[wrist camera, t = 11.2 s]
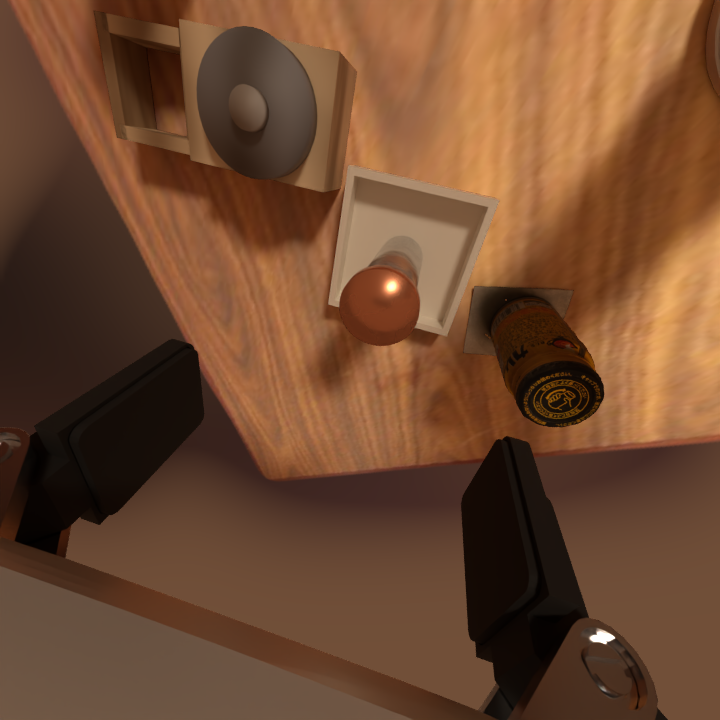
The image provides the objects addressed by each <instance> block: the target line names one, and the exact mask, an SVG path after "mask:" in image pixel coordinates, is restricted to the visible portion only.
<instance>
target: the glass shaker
mask: <svg viewBox="0 0 720 720" xmlns="http://www.w3.org/2000/svg"><path fill="white" fill-rule="evenodd" d="M422 259H423V255H422V250H421V248H420V246H419V244H418V243H417V242H416V241H415V240H414V239H412V238H410V237H408V236H395V237H393V238H391V239H389V240H388V241H387V242H386V243H385V244H384V245H383V246H382V248H381V249H380V251H379V252H378V253H377V255H376V256H375V257H374V259H373V260H372V262H371V263H370V264H369V266H368V267H366V268H364V269H362V270H360V271H359V272H357V273H356V274H355V275H354V276H353V277H352V278H351V279H350V280H349V282H348V283H347V284H346V285H345V287H344V289H343V291H342V293H341V296H340V302H339V310H340V315H341V318H342V321H343V323H344V325H345V326H346V328H347V329H348V330H349V332H350V333H351V334H352V335H354V336H355V337H356V338H358V339H359V340H361V341H363V342H365V343H368V344H371V345H376V346H386V345H392V344H395V343H398V342H400V341H402V340H403V339H405V338H406V337H407V336H408V335H409V334H410V333H411V332H412V331H413V329H414V328H415V326H416V324H417V321H418V318H419V312H420V296H419V292H418V289H417V286H418V281H419V276H420V270H421V265H422Z"/></svg>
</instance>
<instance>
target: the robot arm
mask: <svg viewBox="0 0 720 720" xmlns="http://www.w3.org/2000/svg"><path fill="white" fill-rule="evenodd" d="M705 51H706V61H707V71H708V74H709V77H710V80H711V82H712V85H713V88H714V90H715V91H716V92H717V94H718V95H719V96H720V0H715V2H714V6H713V9H712V13H711V16H710V20H709V23H708V31H707V40H706V48H705ZM203 418H204V407H203V398H202V387H201V378H200V368H199V359H198V353H197V351H196V350H194V347H193V345H191V344H189V343H185V342H182V341H178V340H175V339H171V340H168V341H167V342H165V343H164V344H162V345H161V346H159V347H158V348H156V349H154V350H153V351H151V352H149V353H148V354H146V355H145V356H143V357H142V358H140V359H139V360H137V361H136V362H134V363H132V364H131V365H129V366H128V367H126V368H124V369H123V370H121V371H120V372H118V373H116V374H115V375H113V376H112V377H110V378H109V379H107V380H106V381H104V382H102V383H101V384H99V385H98V386H96V387H94V388H93V389H91V390H90V391H88V392H87V393H85V394H83V395H82V396H80V397H79V398H77V399H76V400H74V401H73V402H71V403H69V404H68V405H66V406H65V407H63V408H61V409H60V410H58V411H57V412H55V413H54V414H52V415H50V416H49V417H48V418H46V419H44V420H43V421H41V422H39V423H38V424H36V425H35V426H34V427H35V429H36V431H37V432H35V433H34V434H32V435H31V436H29V435H28V434H27V432H25V431H23V430H21V429H18V428H10V427H7V428H0V720H668V719H667V718H666V717H665V716H664V715H663V714H662V713H661V712H660V710H659V709H658V708H657V703H658V698H657V694H656V690H655V686H654V682H653V680H652V678H651V676H650V674H649V672H648V669H647V667H646V666H645V664H644V663H643V661H642V660H641V658H640V657H639V655H638V654H637V652H636V651H635V650H634V648H633V647H632V646H631V645H630V644H629V643H628V642H627V641H626V640H625V638H624V637H623V636H621V635H620V634H619V633H617V632H616V631H615V630H614V629H613V628H612V627H610V626H608V625H607V624H604V623H603V622H601V621H599V620H596V619H591V618H589V616H588V613H587V610H586V607H585V604H584V601H583V598H582V595H581V592H580V589H579V586H578V583H577V580H576V576H575V573H574V570H573V567H572V564H571V561H570V558H569V555H568V552H567V549H566V546H565V542H564V539H563V536H562V533H561V530H560V527H559V524H558V521H557V518H556V515H555V512H554V509H553V506H552V504H551V502H550V500H549V499H548V498H547V497H546V495H545V492H544V489H543V486H542V482H541V479H540V476H539V473H538V470H537V466H536V463H535V460H534V457H533V454H532V451H531V447H530V445H529V443H528V442H525V441H522V440H519V439H515V438H512V437H508V436H506V437H504V438H503V440H500V439H498V440H496V442H495V443H494V445H493V446H492V448H491V450H490V451H489V453H488V455H487V456H486V458H485V460H484V461H483V463H482V465H481V466H480V468H479V470H478V471H477V473H476V474H475V476H474V478H473V479H472V481H471V483H470V484H469V486H468V488H467V489H466V491H465V493H464V495H463V498H462V503H461V510H462V527H463V544H464V545H463V546H464V563H465V581H466V598H467V617H468V632H469V636H470V639H471V640H472V641H475V643H476V657H478V658H481V659H484V660H486V661H489V662H492V663H493V667H494V677H495V681H496V684H495V686H494V687H493V689H492V690H491V692H490V693H489V695H488V696H487V698H486V699H485V701H484V702H483V704H482V705H481V707H480V708H479V710H475V709H473V708H470V707H468V706H465V705H462V704H460V703H457V702H455V701H452V700H450V699H447V698H444V697H442V696H440V695H437V694H434V693H432V692H429V691H427V690H424V689H422V688H419V687H417V686H414V685H411V684H409V683H406V682H404V681H401V680H399V679H396V678H393V677H390V676H388V675H385V674H382V673H380V672H377V671H374V670H371V669H369V668H366V667H363V666H361V665H358V664H355V663H352V662H350V661H347V660H344V659H342V658H339V657H336V656H333V655H331V654H328V653H325V652H322V651H320V650H317V649H315V648H312V647H309V646H306V645H304V644H301V643H298V642H296V641H293V640H290V639H287V638H285V637H282V636H279V635H276V634H274V633H271V632H268V631H265V630H263V629H260V628H257V627H254V626H251V625H249V624H246V623H243V622H240V621H238V620H235V619H232V618H230V617H227V616H224V615H221V614H218V613H216V612H213V611H210V610H207V609H205V608H202V607H199V606H197V605H194V604H191V603H188V602H186V601H183V600H180V599H177V598H175V597H172V596H169V595H166V594H164V593H161V592H158V591H155V590H152V589H149V588H147V587H144V586H141V585H138V584H136V583H133V582H130V581H127V580H124V579H121V578H119V577H116V576H113V575H110V574H108V573H104V572H102V571H99V570H96V569H94V568H91V567H88V566H85V565H82V564H79V563H77V562H74V561H71V560H68V559H66V558H65V557H66V552H67V547H68V541H69V536H70V530H71V525H72V524H73V523H74V522H75V521H76V520H77V519H78V518H79V517H81V519H84V520H87V521H90V522H93V523H95V524H98V525H100V524H101V523H102V522H103V521H104V520H105V519H106V518H107V517H108V516H109V515H113V514H115V513H116V512H118V511H119V510H120V509H121V508H122V507H123V506H124V505H125V504H126V503H127V501H128V500H129V499H130V498H131V497H132V496H133V495H134V494H135V493H136V492H137V491H138V490H139V489H140V488H141V486H142V485H143V484H144V483H145V482H146V481H147V480H148V479H149V478H150V477H151V476H152V475H153V474H154V473H155V471H157V470H158V468H159V467H160V466H161V465H162V464H163V463H164V462H165V461H166V460H167V459H168V458H169V457H170V456H171V455H172V453H173V452H174V451H175V450H176V449H177V448H178V447H179V446H180V445H181V444H182V443H183V442H184V441H185V440H186V438H188V436H189V435H190V434H191V433H192V432H193V431H194V430H195V429H196V428H197V427H198V426H199V425H200V423H201V422H202V420H203Z"/></svg>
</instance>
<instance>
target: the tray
mask: <svg viewBox="0 0 720 720" xmlns="http://www.w3.org/2000/svg"><path fill="white" fill-rule="evenodd" d="M498 203H499V200H498V199H496V198H493V197H489V196H485V195H480V194H476V193H472V192H467V191H463V190H459V189H454V188H450V187H446V186H442V185H437V184H433V183H429V182H424V181H420V180H416V179H411V178H407V177H403V176H398V175H394V174H390V173H386V172H381V171H377V170H373V169H368V168H364V167H360V166H355V165H348V171H347V178H346V185H345V192H344V199H343V206H342V212H341V219H340V226H339V233H338V240H337V247H336V253H335V260H334V267H333V274H332V281H331V288H330V294H329V301H328V305H332V306H336V307H339V302H340V296H341V293H342V291H343V289H344V287H345V285H346V284H347V283H348V282H349V280H350V279H351V278H352V277H353V276H354V275H355V274H356V273H357V272H359V271H360V270H362V269H364V268H366V267H368V266H369V264H370V263H371V262H372V260H373V259H374V257H375V256H376V255H377V253H378V252H379V251H380V249H381V248H382V246H383V245H384V244H385V243H386V242H387V241H388V240H389V239H391V238H393V237H395V236H408V237H410V238H412V239H414V240H415V241H416V242H417V243H418V244H419V246H420V248H421V250H422V255H423V259H422V265H421V270H420V276H419V281H418V286H417V289H418V292H419V296H420V312H419V318H418V321H417V324H416V326H415V328H418V329H421V330H425V331H429V332H432V333H436V334H440V335H443V336H447V335H448V332H449V330H450V327H451V325H452V322H453V319H454V317H455V314H456V312H457V309H458V306H459V304H460V301H461V299H462V296H463V294H464V291H465V288H466V286H467V283H468V281H469V278H470V275H471V273H472V270H473V268H474V265H475V262H476V260H477V257H478V255H479V252H480V249H481V247H482V244H483V242H484V239H485V237H486V234H487V231H488V229H489V226H490V224H491V221H492V218H493V216H494V213H495V211H496V208H497V205H498Z"/></svg>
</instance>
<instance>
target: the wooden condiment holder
mask: <svg viewBox="0 0 720 720" xmlns="http://www.w3.org/2000/svg"><path fill="white" fill-rule="evenodd" d="M94 16H95V21H96V27H97V32H98V37H99V43H100V48H101V54H102V59H103V65H104V70H105V76H106V81H107V86H108V92H109V97H110V103H111V108H112V114H113V119H114V125H115V130H116V135H117V138H121V139H125V140H130V141H134V142H138V143H142V144H146V145H151V146H155V147H159V148H163V149H167V150H171V151H176V152H180V153H184V154H188V155H190V159H191V161H195V162H199V163H204V164H208V165H212V166H216V167H220V168H224V169H229V170H233V171H236V172H238V173H240V174H242V175H244V176H247V177H250V178H254V179H270V180H274V181H278V182H282V183H287V184H291V185H295V186H299V187H303V188H307V189H312V190H316V191H320V192H328V191H332V190H337V189H341V182H342V175H343V168H344V161H345V154H346V147H347V139H348V132H349V125H350V118H351V111H352V104H353V96H354V89H355V82H356V75H357V71H356V70H355V69H354V68H353V66H352V65H351V64H350V63H349V62H348V61H347V60H346V58H345V57H344V56H343V55H342V54H341V53H340V52H339V51H334V50H329V49H325V48H320V47H315V46H310V45H305V44H300V43H295V42H290V41H285V40H280V39H276V38H274V37H273V36H271V35H270V34H269V33H267V32H265V31H263V30H260V29H257V28H254V27H247V26H242V27H235V28H232V29H226V28H222V27H217V26H212V25H207V24H202V23H197V22H192V21H187V20H182V19H179V27H180V28H176V27H171V26H166V25H162V24H157V23H152V22H147V21H142V20H137V19H133V18H128V17H123V16H118V15H113V14H108V13H104V12H99V11H94ZM146 47H147V48H152V49H156V50H161V51H166V52H170V53H175V54H180V57H181V68H182V80H183V92H184V104H185V115H186V127H187V137H185V136H181V135H177V134H173V133H168V132H164V131H160V130H157V129H156V121H155V113H154V105H153V97H152V89H151V81H150V73H149V65H148V58H147V50H146Z"/></svg>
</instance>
